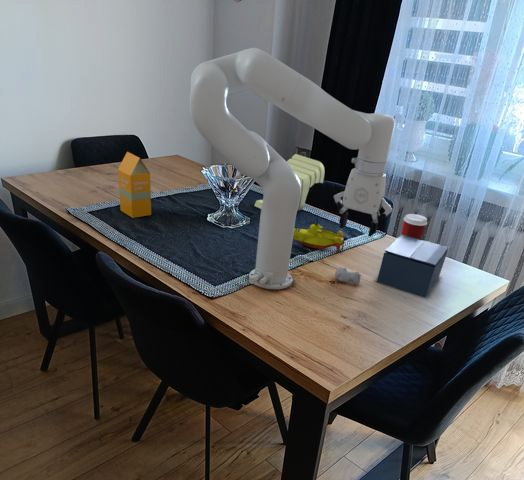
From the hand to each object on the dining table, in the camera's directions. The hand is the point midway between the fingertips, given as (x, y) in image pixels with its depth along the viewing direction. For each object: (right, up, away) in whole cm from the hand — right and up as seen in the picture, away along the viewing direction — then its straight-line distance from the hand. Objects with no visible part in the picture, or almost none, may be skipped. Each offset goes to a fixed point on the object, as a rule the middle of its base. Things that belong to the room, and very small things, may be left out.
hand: (356, 230), depth 138 cm
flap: (+17, -2, +11) cm, 20 cm away
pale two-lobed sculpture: (-2, -13, +9) cm, 16 cm away
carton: (+19, -12, +15) cm, 27 cm away
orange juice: (-72, +16, +40) cm, 84 cm away
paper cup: (+22, -2, +30) cm, 37 cm away
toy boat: (-8, +1, +29) cm, 30 cm away
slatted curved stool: (-19, +23, +58) cm, 66 cm away
